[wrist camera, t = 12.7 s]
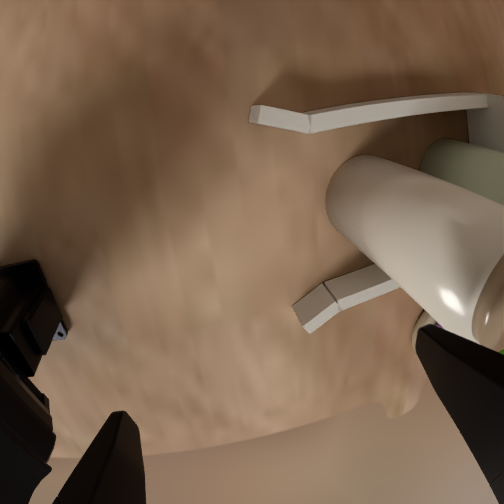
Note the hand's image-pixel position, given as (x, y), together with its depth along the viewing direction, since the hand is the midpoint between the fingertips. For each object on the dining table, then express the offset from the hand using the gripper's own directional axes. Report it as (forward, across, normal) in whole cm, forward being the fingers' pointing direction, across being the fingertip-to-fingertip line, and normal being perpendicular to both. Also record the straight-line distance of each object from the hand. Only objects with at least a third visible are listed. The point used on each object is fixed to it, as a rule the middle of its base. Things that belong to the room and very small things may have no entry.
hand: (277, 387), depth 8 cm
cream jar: (+13, -9, +1) cm, 16 cm away
